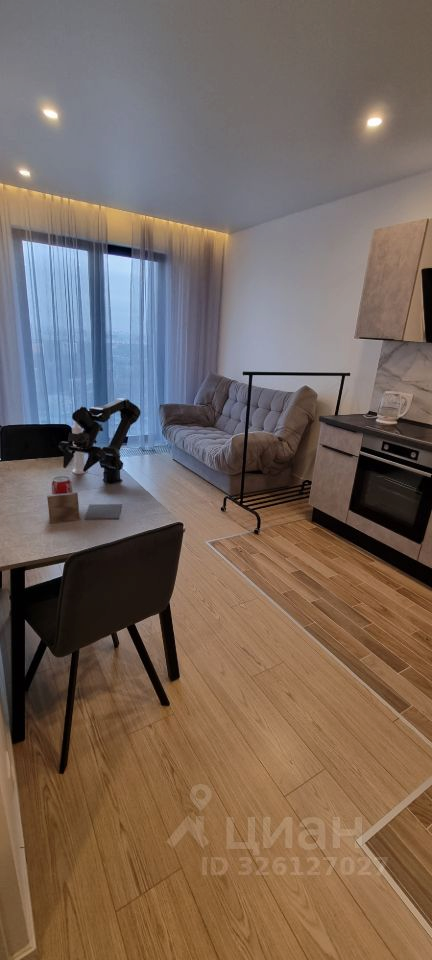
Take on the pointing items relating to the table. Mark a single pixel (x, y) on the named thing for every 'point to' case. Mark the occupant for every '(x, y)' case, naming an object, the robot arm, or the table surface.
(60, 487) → the soda can
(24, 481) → the table surface
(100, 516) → the charcoal mat
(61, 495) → the walnut screen
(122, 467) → the robot arm
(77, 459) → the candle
